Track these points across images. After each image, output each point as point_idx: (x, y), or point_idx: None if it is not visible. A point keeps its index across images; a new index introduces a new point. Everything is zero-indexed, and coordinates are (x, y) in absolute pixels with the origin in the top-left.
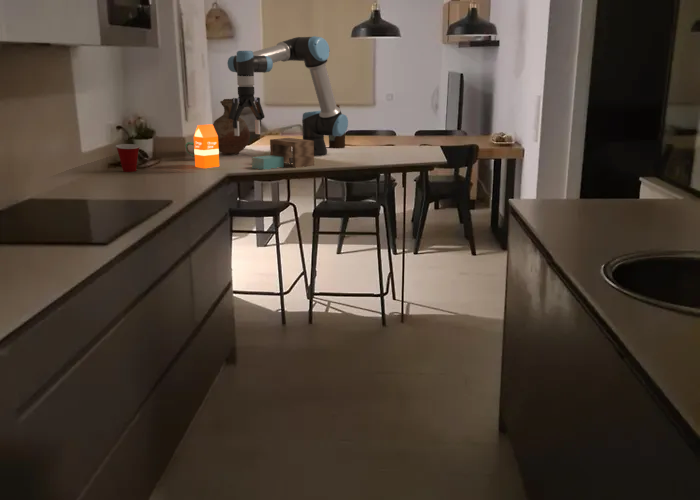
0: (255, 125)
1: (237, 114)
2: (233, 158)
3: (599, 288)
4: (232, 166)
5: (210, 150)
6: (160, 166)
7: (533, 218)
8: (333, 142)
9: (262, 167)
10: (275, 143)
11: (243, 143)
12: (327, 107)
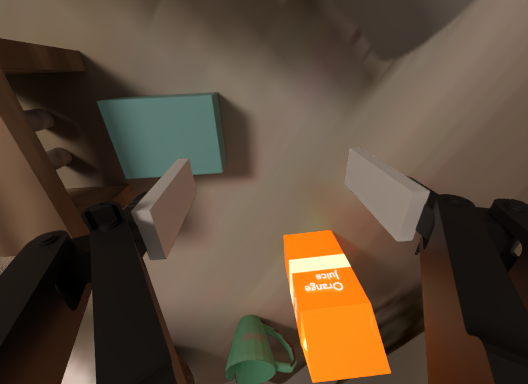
0: (181, 221)
1: (491, 246)
2: (184, 313)
3: None
4: (257, 217)
5: (323, 267)
6: (373, 296)
7: None
8: None
9: (217, 101)
10: (72, 208)
11: None
12: None
